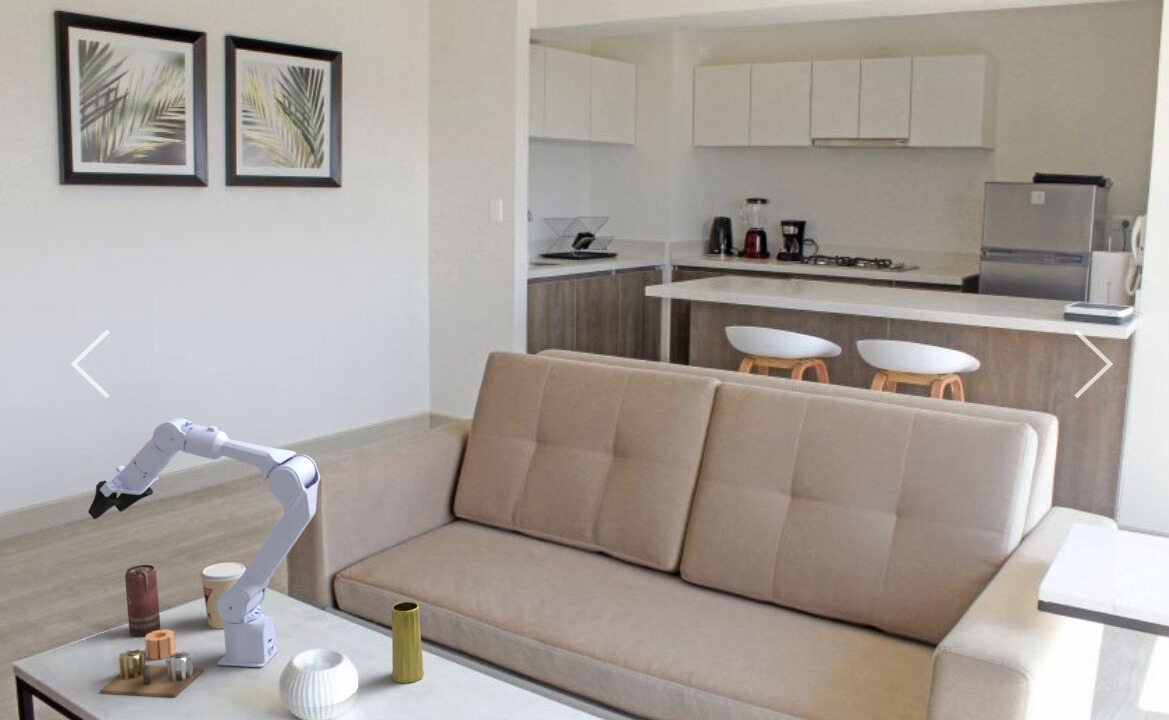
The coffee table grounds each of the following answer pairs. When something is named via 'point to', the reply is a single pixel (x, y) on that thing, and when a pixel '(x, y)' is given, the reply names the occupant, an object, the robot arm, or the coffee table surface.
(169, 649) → the idler gear
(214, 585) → the coffee cup
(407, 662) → the vase
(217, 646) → the coffee table surface
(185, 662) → the gear
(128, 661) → the gear
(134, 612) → the can
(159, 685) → the gear board
